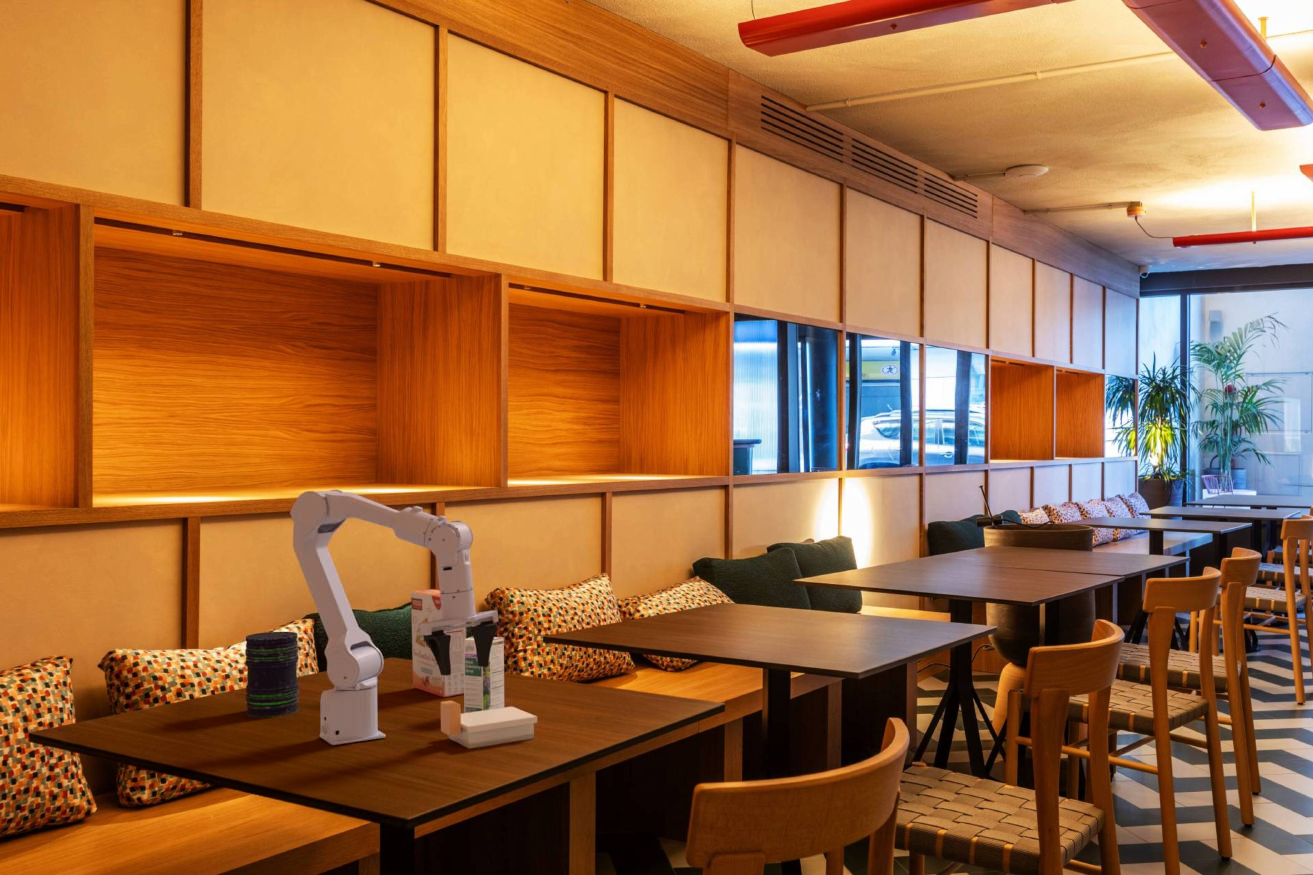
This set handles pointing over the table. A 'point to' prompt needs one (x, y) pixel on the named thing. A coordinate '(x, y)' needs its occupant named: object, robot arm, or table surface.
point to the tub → (494, 736)
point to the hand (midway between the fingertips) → (465, 670)
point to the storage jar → (271, 674)
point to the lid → (480, 718)
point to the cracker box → (424, 662)
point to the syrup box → (483, 677)
